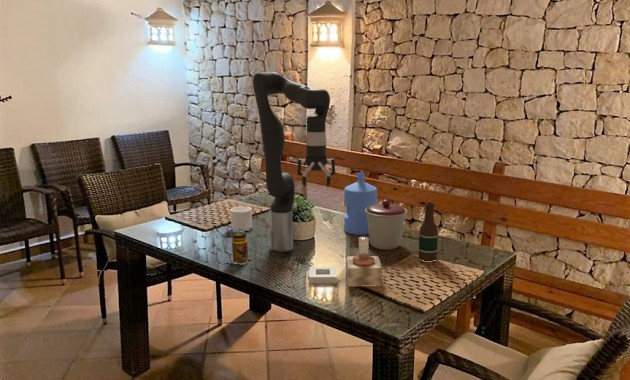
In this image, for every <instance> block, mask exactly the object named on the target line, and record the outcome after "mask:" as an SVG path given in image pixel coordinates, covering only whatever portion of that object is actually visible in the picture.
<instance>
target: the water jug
mask: <svg viewBox="0 0 630 380" xmlns="http://www.w3.org/2000/svg"><path fill="white" fill-rule="evenodd" d="M356 177H357V181H356V182H354V183H352V184H350V185H349V184H348V185H347V186H344V191H343V197H344V199H343V200H344V203H345V204H346V213H345V214H344V217H343V218H344V219H343V220H344V221H343V223H344V224H343V229H344V231H345V232H346V233H347V234H350V235H357V236H363V235H364V236H365V235H369V233H368V223H367V213H366V212H365V209H366V208H367V207H369V206H371V205H374V204H378V203H377V202H378V201H377V200H378V189H377V187H376V186H374V185H372V184H370V183H367V182H365V173H364V172H358V173H357V176H356Z"/></svg>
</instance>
